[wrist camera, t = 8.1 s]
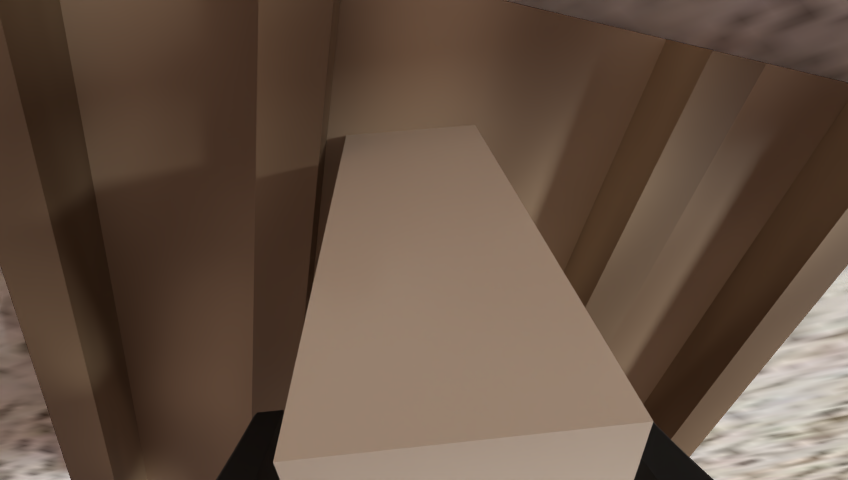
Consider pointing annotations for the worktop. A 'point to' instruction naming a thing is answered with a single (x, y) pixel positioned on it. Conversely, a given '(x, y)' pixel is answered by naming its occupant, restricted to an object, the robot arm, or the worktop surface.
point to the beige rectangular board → (448, 333)
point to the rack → (316, 177)
